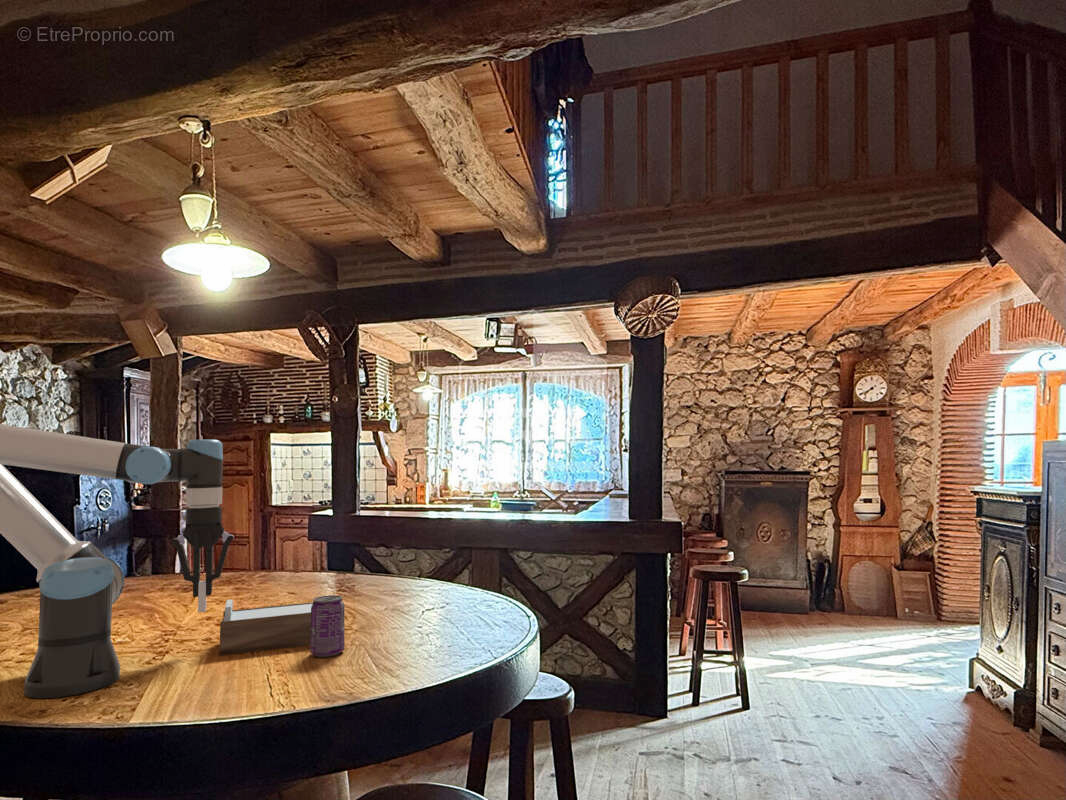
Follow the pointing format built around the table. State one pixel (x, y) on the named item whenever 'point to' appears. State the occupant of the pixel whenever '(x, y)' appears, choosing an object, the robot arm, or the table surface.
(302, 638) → the box
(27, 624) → the table surface
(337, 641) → the beverage can
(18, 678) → the table surface
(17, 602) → the table surface
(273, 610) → the lid
